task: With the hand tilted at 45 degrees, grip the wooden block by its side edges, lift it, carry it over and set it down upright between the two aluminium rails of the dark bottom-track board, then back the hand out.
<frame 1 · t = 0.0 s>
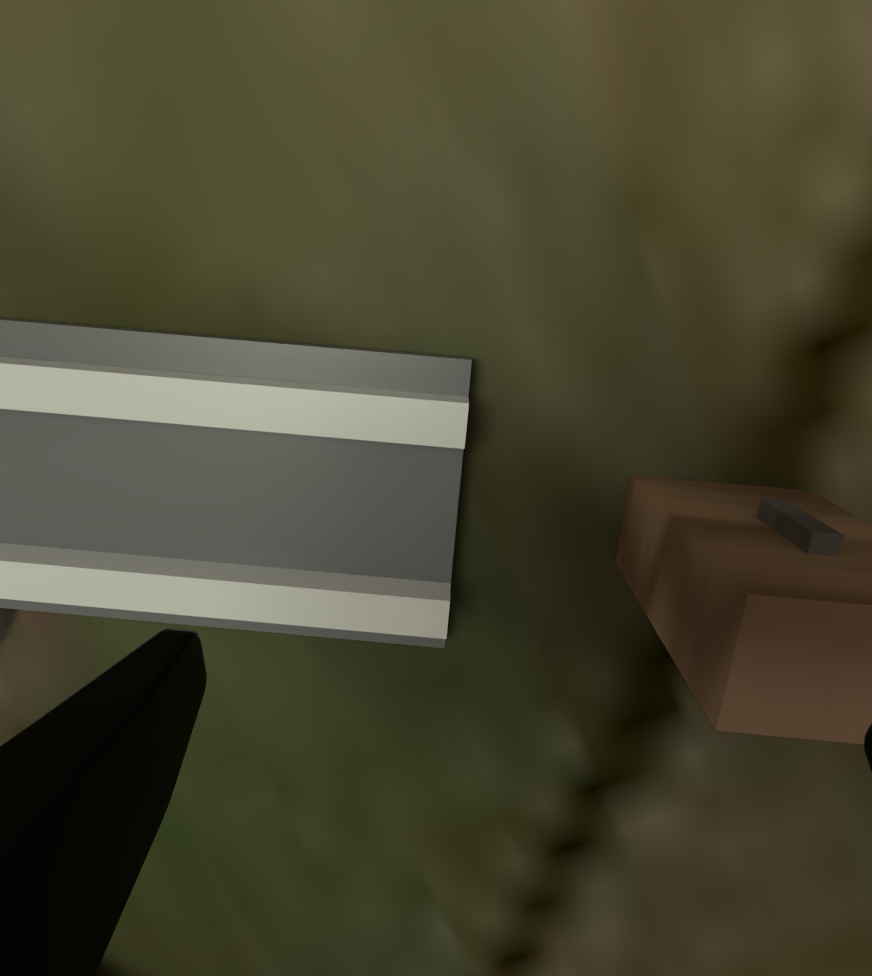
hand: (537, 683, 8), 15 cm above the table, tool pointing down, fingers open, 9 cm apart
track board: (207, 483, 24), on the table
wooden block: (708, 527, 24), on the table
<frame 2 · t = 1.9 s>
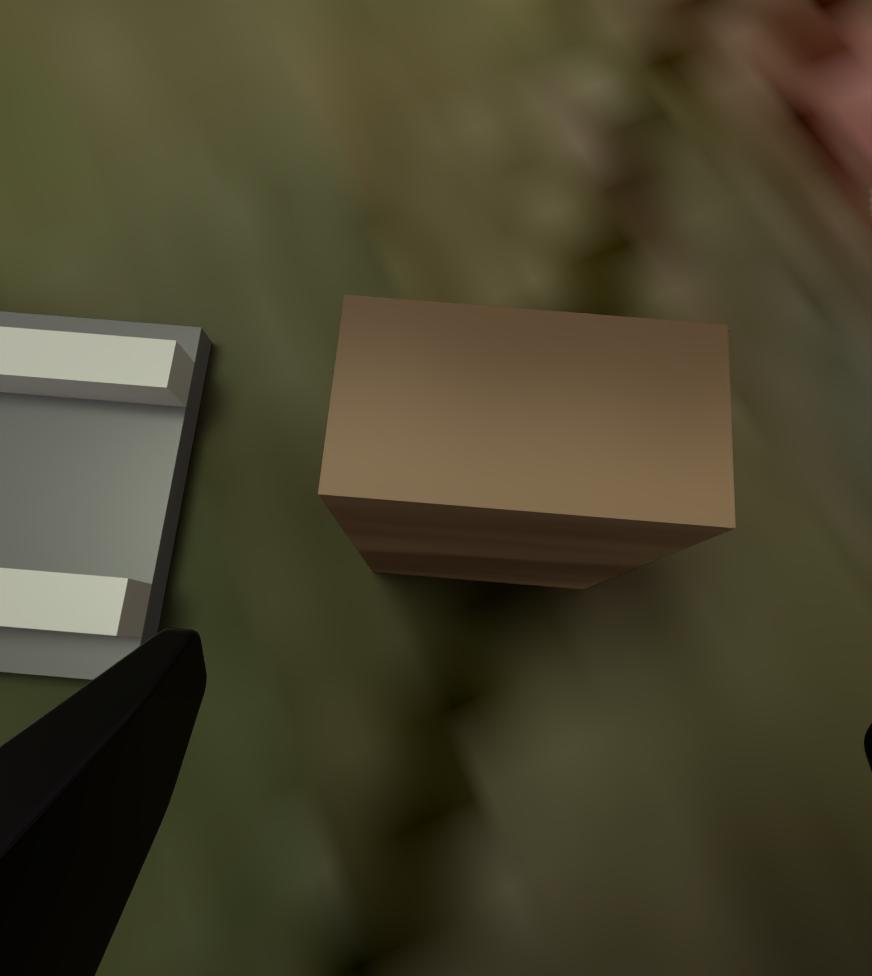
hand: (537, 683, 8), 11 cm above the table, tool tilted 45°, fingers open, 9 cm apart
wooden block: (481, 525, 20), on the table
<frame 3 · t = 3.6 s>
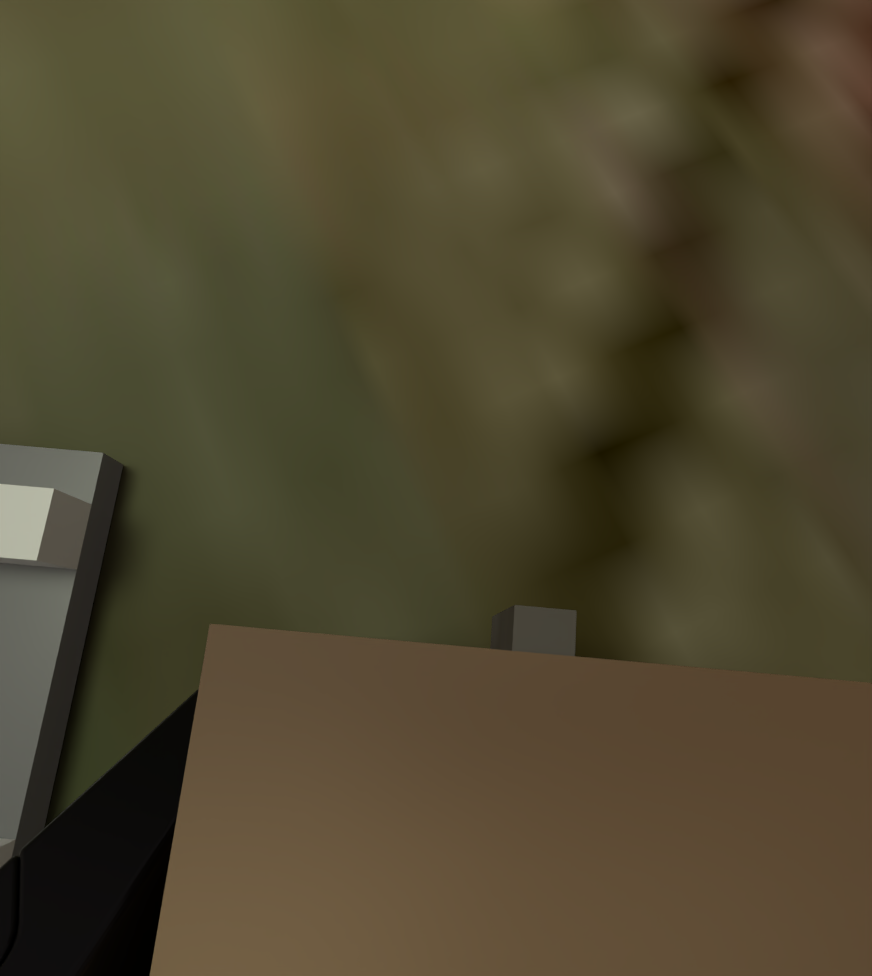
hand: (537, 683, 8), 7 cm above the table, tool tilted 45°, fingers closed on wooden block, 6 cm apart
wooden block: (486, 731, 14), on the table, touching gripper
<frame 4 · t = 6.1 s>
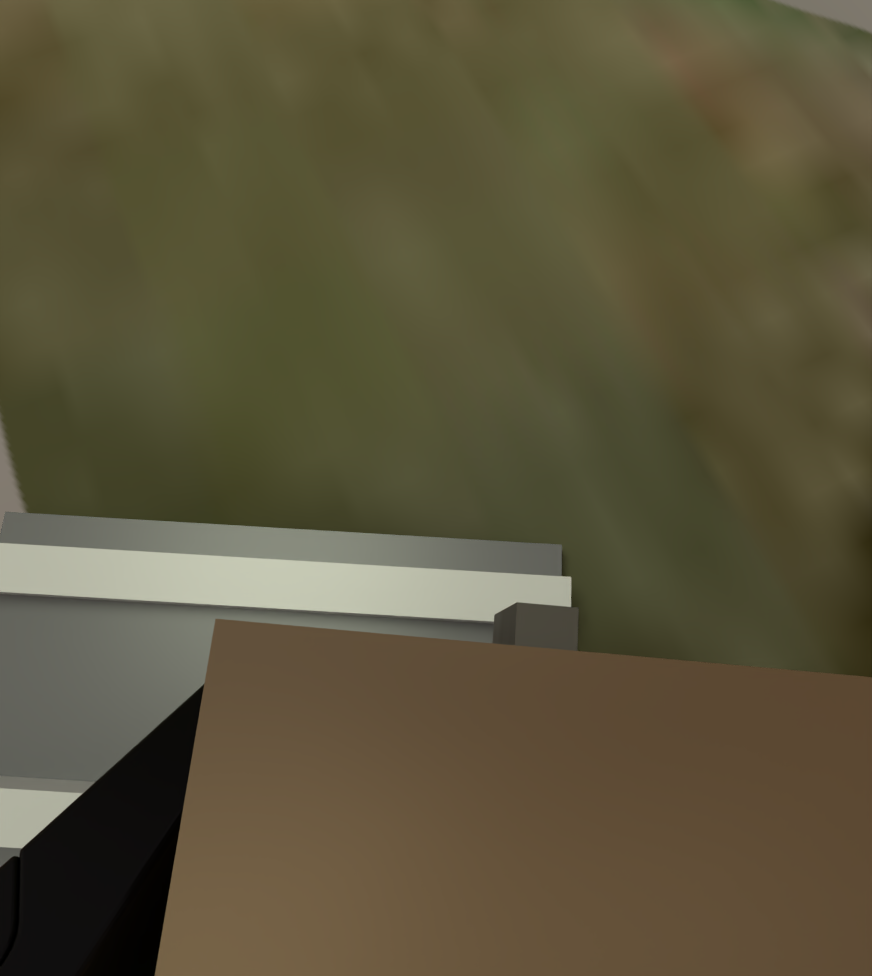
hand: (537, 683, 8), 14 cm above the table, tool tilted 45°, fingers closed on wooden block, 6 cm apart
track board: (270, 695, 21), on the table
wooden block: (488, 730, 14), point 7 cm above the table, touching gripper
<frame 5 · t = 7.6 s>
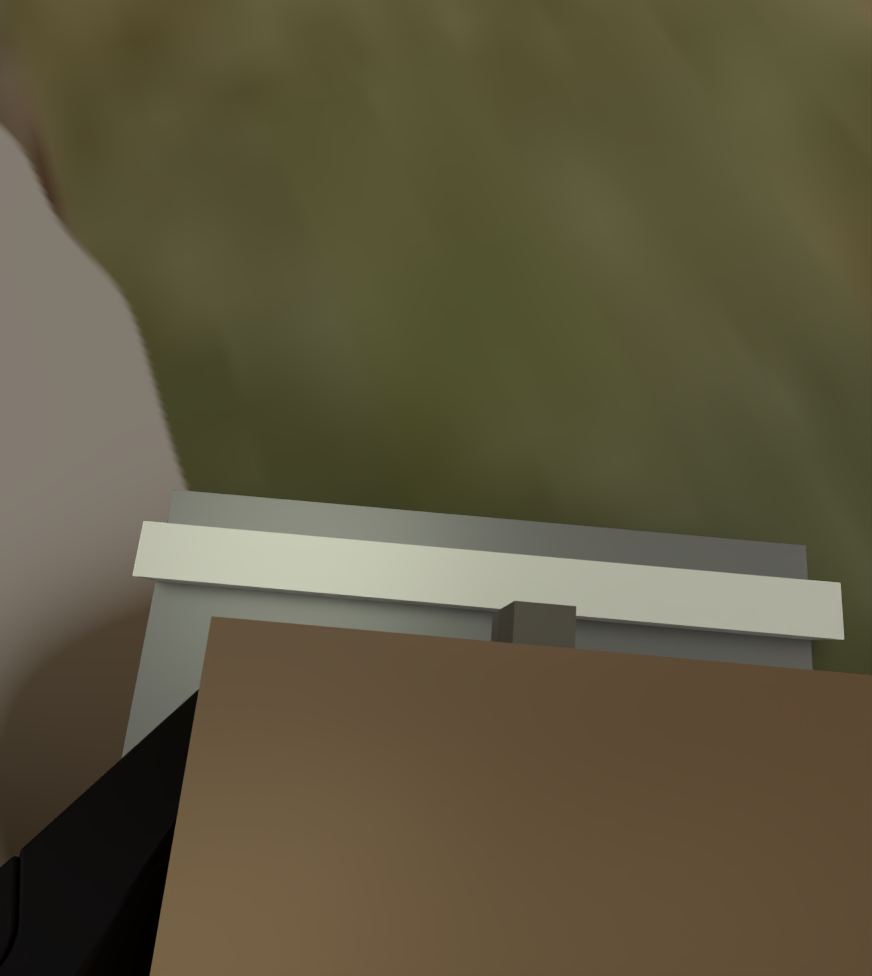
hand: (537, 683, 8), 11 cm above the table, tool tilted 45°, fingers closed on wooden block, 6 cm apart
track board: (472, 707, 19), on the table
wooden block: (486, 729, 14), point 4 cm above the table, touching gripper
when the fingers open (9 cm above the table, at t = 8.6 s): wooden block drops 1 cm, resting on track board.
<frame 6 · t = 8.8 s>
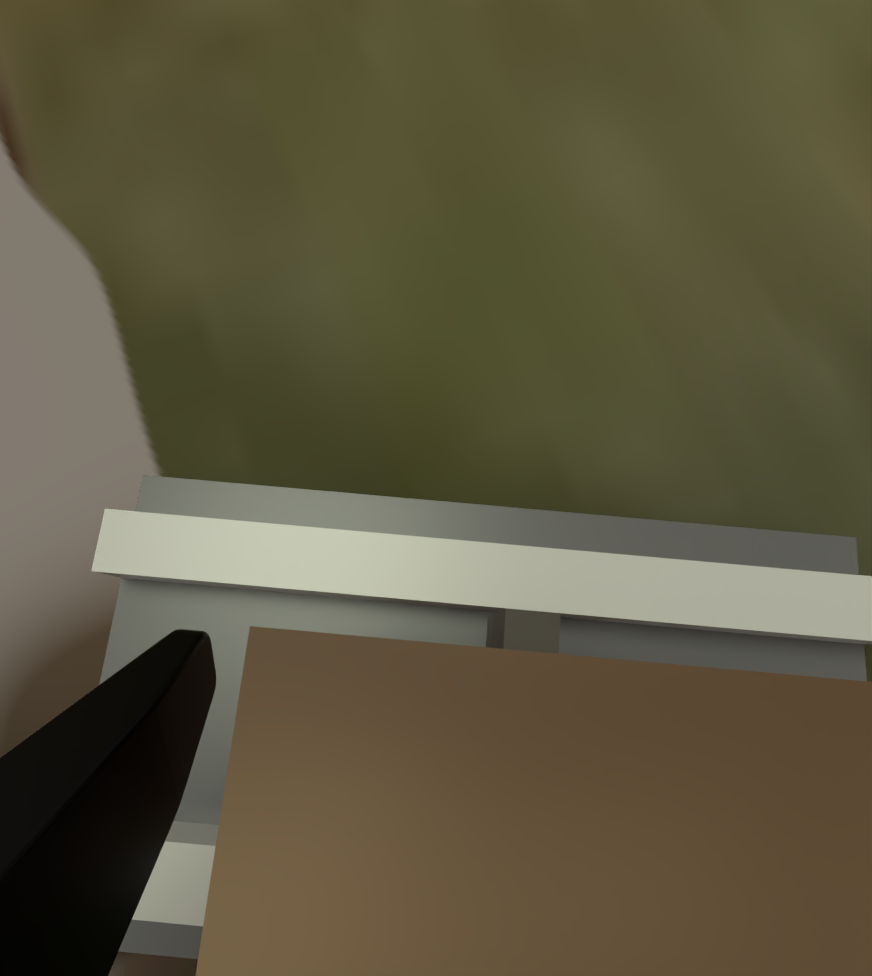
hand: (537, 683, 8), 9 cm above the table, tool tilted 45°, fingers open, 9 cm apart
track board: (479, 720, 16), on the table
wooden block: (483, 724, 15), point 1 cm above the table, touching track board
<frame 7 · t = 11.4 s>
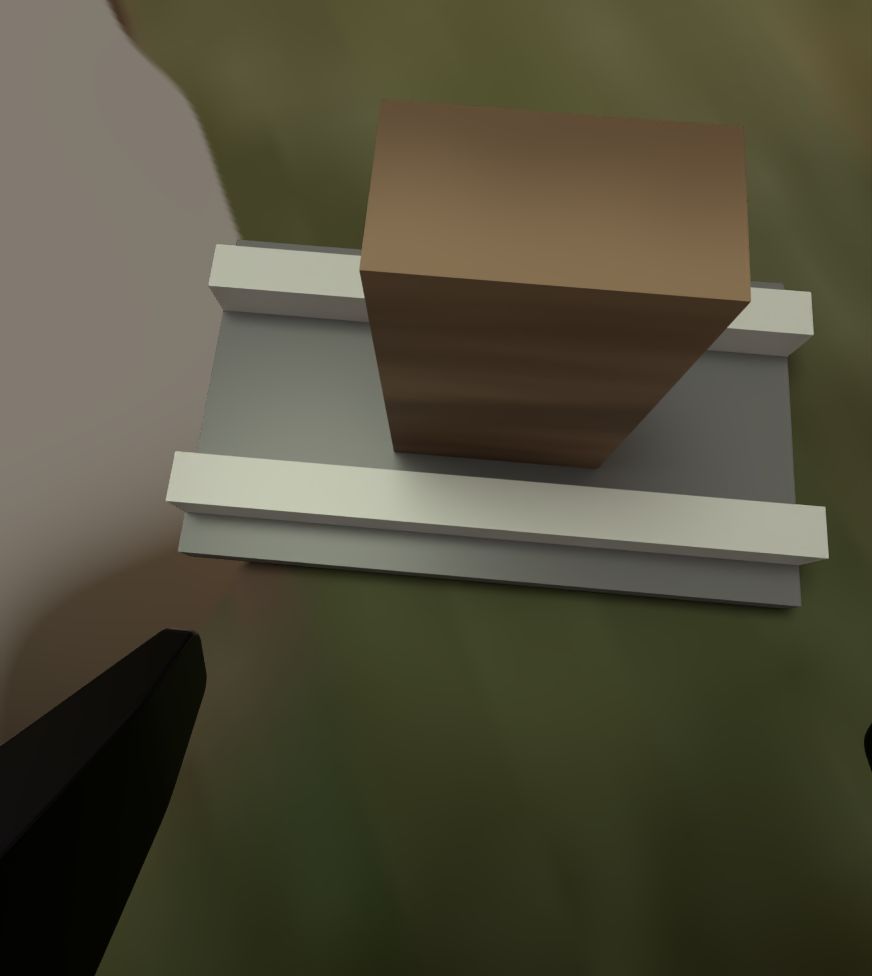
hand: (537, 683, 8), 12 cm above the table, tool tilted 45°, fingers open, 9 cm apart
track board: (495, 420, 22), on the table
wooden block: (498, 409, 21), point 1 cm above the table, touching track board
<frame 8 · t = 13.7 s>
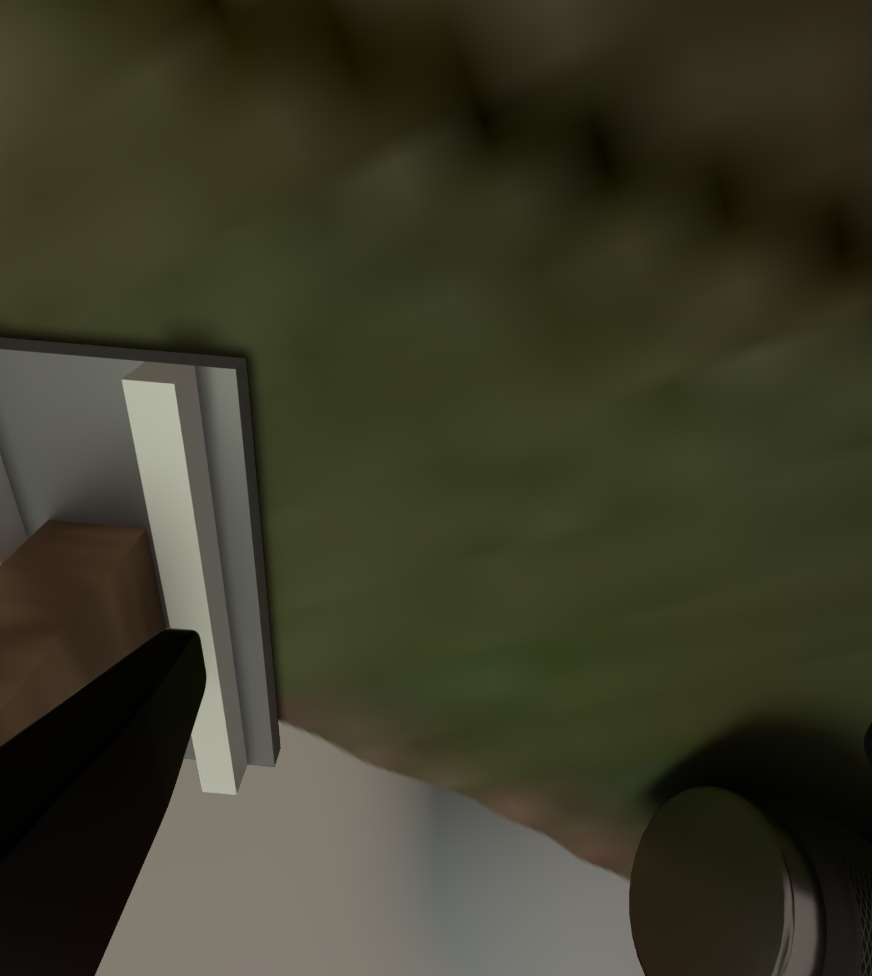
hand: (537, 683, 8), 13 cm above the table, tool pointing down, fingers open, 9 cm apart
track board: (127, 578, 25), on the table
wooden block: (114, 595, 24), point 1 cm above the table, touching track board
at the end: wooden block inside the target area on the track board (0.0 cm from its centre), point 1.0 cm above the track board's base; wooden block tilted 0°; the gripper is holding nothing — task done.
